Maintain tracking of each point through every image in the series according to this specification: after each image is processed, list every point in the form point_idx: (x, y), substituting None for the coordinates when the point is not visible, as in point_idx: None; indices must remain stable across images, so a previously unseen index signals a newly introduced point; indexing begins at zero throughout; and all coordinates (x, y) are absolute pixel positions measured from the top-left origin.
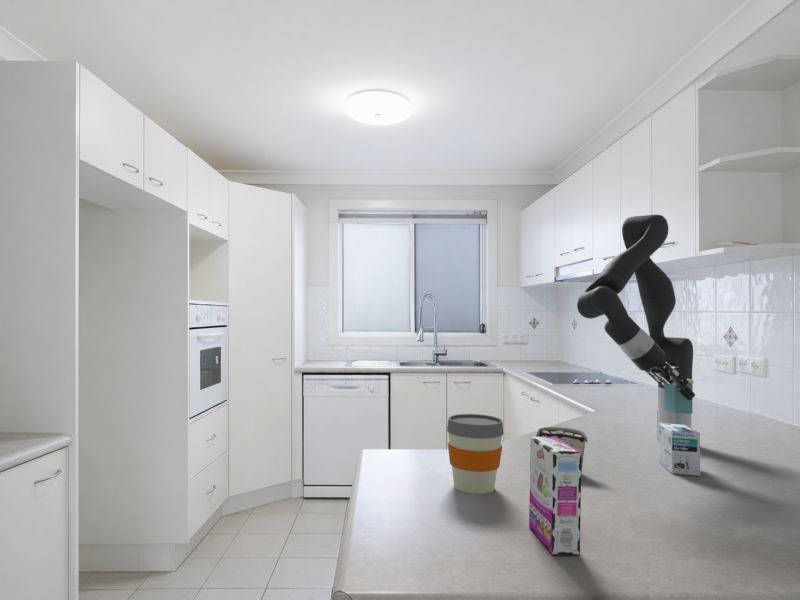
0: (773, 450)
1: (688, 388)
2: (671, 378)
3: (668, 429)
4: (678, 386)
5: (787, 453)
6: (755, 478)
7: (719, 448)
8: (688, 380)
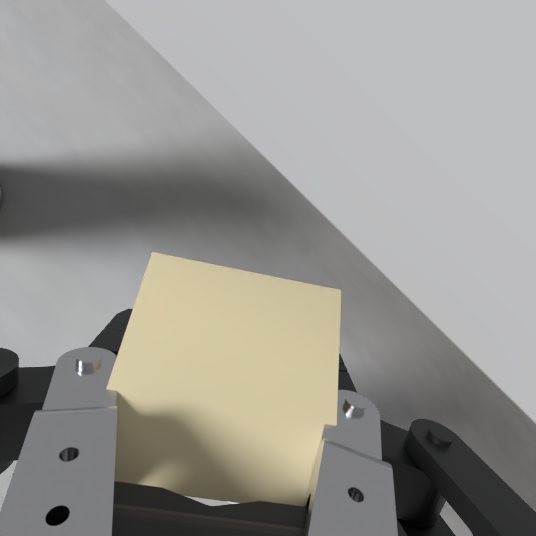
0: (113, 49)
1: (352, 389)
2: (224, 472)
3: (231, 502)
4: (399, 533)
5: (142, 48)
6: (300, 273)
7: (52, 132)
8: (336, 337)
